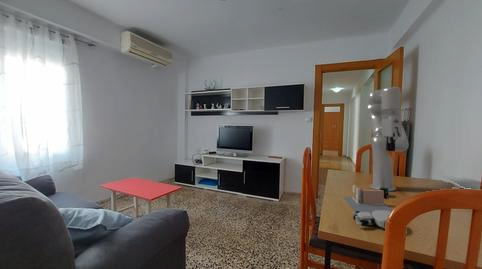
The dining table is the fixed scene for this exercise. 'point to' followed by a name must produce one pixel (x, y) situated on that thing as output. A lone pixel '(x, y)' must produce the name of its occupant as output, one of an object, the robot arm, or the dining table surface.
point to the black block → (385, 193)
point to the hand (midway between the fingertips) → (390, 150)
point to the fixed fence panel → (357, 194)
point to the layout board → (366, 206)
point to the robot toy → (371, 217)
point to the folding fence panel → (373, 196)
